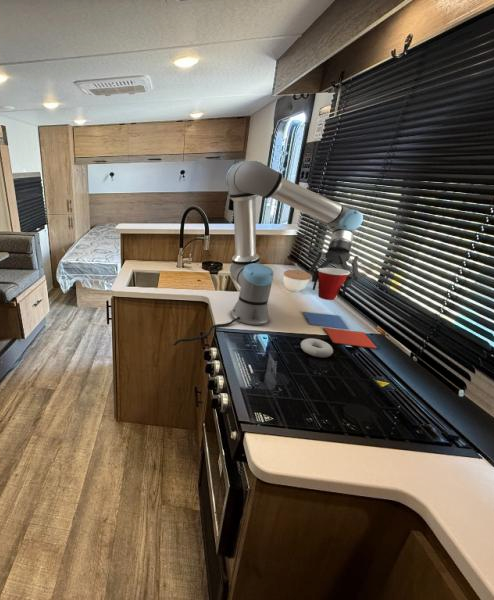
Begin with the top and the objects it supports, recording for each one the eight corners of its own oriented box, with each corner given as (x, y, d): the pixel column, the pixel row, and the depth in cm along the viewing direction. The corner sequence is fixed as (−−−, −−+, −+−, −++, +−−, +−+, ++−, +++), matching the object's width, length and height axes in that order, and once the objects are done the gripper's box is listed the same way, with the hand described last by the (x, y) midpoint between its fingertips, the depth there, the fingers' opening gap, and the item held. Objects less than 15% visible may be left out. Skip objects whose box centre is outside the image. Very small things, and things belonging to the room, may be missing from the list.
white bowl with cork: (298, 295, 159) (303, 275, 155) (275, 288, 169) (280, 269, 165) (311, 290, 165) (316, 271, 161) (288, 283, 175) (293, 265, 171)
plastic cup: (332, 292, 131) (340, 265, 126) (348, 302, 121) (357, 274, 116) (306, 292, 132) (312, 265, 127) (318, 302, 122) (326, 273, 117)
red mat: (377, 349, 113) (377, 348, 113) (333, 343, 117) (333, 342, 117) (363, 333, 123) (363, 332, 123) (323, 328, 127) (324, 327, 127)
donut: (326, 346, 115) (296, 342, 117) (328, 339, 113) (298, 334, 116) (335, 361, 106) (303, 356, 108) (338, 353, 104) (306, 348, 107)
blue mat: (348, 329, 127) (348, 328, 126) (309, 324, 131) (310, 323, 130) (338, 316, 137) (338, 315, 137) (303, 312, 141) (303, 311, 141)
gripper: (371, 252, 125) (360, 301, 120) (309, 245, 137) (296, 289, 132) (376, 242, 119) (365, 292, 114) (310, 236, 131) (297, 281, 125)
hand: (328, 291), depth 123 cm, fingers closed on plastic cup, 9 cm apart
